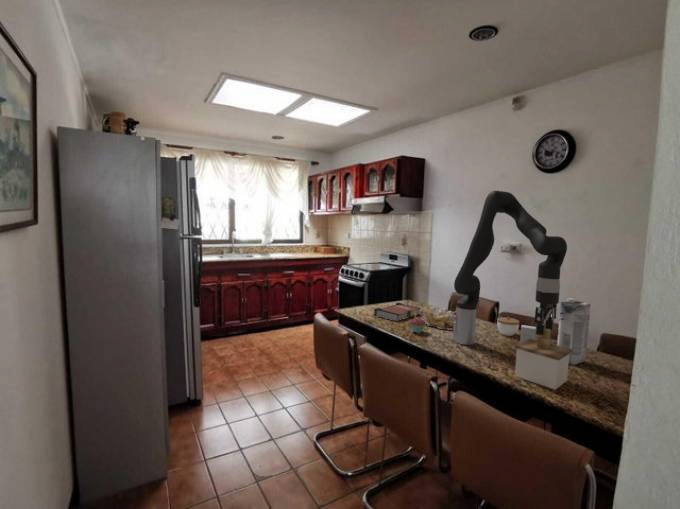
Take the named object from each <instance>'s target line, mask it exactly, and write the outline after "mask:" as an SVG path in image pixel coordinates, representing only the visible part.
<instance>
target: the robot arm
mask: <svg viewBox="0 0 680 509" xmlns="http://www.w3.org/2000/svg"><path fill="white" fill-rule="evenodd" d="M497 213H498V214H506V215H508V216H510V217H511V218H512V219H513V220H514V221H515V226H516V228H517V230H519V232H520V233H521V234H522V235H523V236H524V237H526V238H527V239H528V240H529V243H530V244H531V246H532V247H533V249H534V251H536V253H538V254H539V255H542V256H546V259H545V260H544V261H542V262H540V263H539V264H538V270H537V279H536V280H537V281H536V286H535V288H536V289H535V302H537V303H539V306H536V307H535V314H534V324H536V335H537V336H538V335H544V328H547V329H551V332H552V331H553V328H554V321H555V320H556V319H557V306H558V304H560V302H559V301H560V288H561V282H560V280H561V267H562V266H563V262H564V260H565V257H566V256H567V255H566V254H567V252H568V251H567V250H568V244H567V241H566V240H565V238H563V237H562V236H559V235H557V236H553V235H552V236H550V235H547V233H548V231H547V229H546V227H545V226H544V225H543V224H541V222H540V221H538V220H537V219H536V218H535V217H533V216H532V215H531V214H530V213H529V212H528V211H527V209H525V208H524V206H522V204H521V202H519V200H518V198H516V196H515V195H513V193H511V192H508V191H503V190H492V191H490V192H489V193H488V194H487V196H486V197H485V200H484V204H483V207H482V212H481V214H480V217H479V220H478V224H477V227H476V230H475V232H474V235H473V238H472V241H471V242H470V245H469V247H468V248H469V249H468V251H467V253H466V254H465V258H464V261H463V263H462V266H461V267H460V269H459V271H458V273H457V274H456V277H455V279H454V283H453V287H454V291H455V293H457V294H458V295H463V296H462V297H461V298H460V299H458V300H457V302H456V306H455V307H456V308H455V311H456V315H455V317H456V321H455V322H454V327H453V330H452V341H453V340H454V341H453V342H455V343H456V344H460V345H466V346H467V345H468V346H472V345H474V344H475V339H476V338H475V337H476V336H475V335H476V321H477V319H476V318H477V306H478V304H479V301H480V295H481V281H480V278H479V277H478V276H477V275H475V272H476V270H478V268H479V267H480V266H481V265H482V264H483V263H484V262H485V260H487V259H488V257H489V256H490V254H491V251H492V249H493V247H494V244H495V234H494V226H493V224H494V221H495V217H496V216H497Z"/></svg>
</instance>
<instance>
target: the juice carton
mask: <svg viewBox="0 0 680 509" xmlns="http://www.w3.org/2000/svg"><path fill="white" fill-rule="evenodd" d="M558 318H559V319H558V329H557V330H558V331H557V340H556V341H557V342H556V343H557V344H556V345H557V346H561V347H565V348H569V349H572V352H571V353H570V354H569V364H568V365H572V366H574V365H575V366H576V365H578V364H582V363H584V362H585V361H586V356H587V348H588V339H589V331H590V330H589V328H590V327H589V326H590V318H591V303H589V302H584V301H578V300H576V299H575V298H566V301H560V308H559V317H558Z"/></svg>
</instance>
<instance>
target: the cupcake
mask: <svg viewBox="0 0 680 509" xmlns="http://www.w3.org/2000/svg"><path fill="white" fill-rule="evenodd" d="M414 315H415V316H414V318H413V319H411V320H409V322H408V324H409V326H410V328H411V331H413V333H414V332H421V333H422V332H423V330H424V328H426V326H427V325H426V324H425V321H424V319H422V318H417V315H416V313H415V310H414Z"/></svg>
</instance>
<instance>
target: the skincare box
mask: <svg viewBox="0 0 680 509" xmlns="http://www.w3.org/2000/svg"><path fill="white" fill-rule="evenodd" d="M536 336H537V326H532V325H527V324H526V325H525V324H521V327H520V337H519V338H520V341H519V343H521V342H523V341H525V340H527V339H533V340H536Z"/></svg>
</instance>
